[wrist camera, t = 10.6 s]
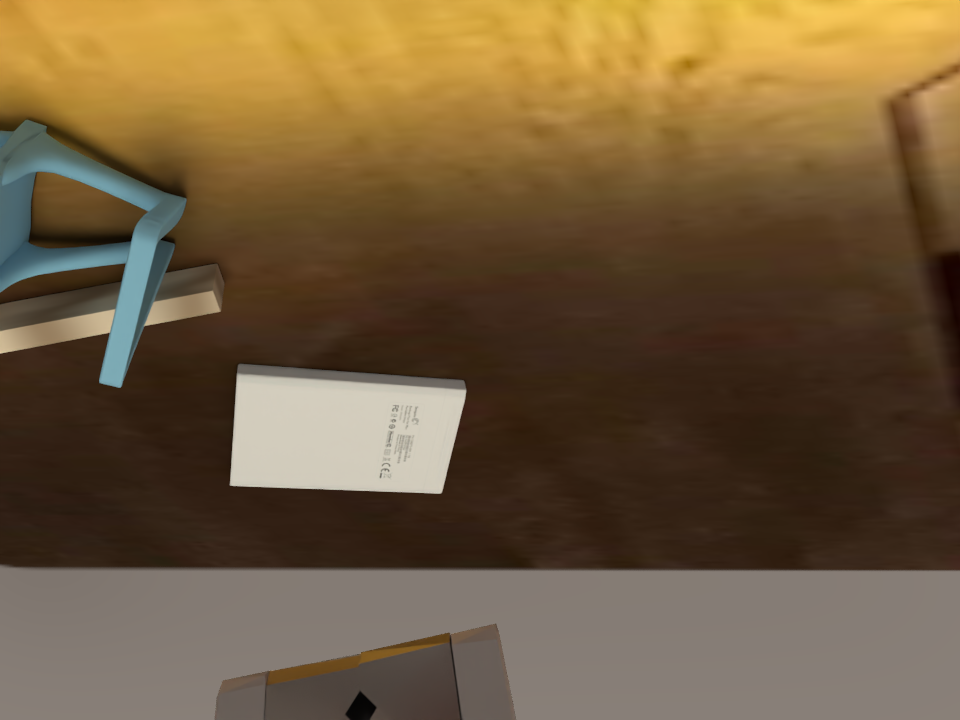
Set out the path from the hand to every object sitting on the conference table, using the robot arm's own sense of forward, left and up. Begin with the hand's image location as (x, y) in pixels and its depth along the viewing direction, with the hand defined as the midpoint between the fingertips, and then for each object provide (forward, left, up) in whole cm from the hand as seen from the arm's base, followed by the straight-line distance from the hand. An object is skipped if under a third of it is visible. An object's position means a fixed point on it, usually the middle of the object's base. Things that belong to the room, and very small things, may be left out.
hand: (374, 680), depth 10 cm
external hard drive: (+23, +13, -35) cm, 43 cm away
